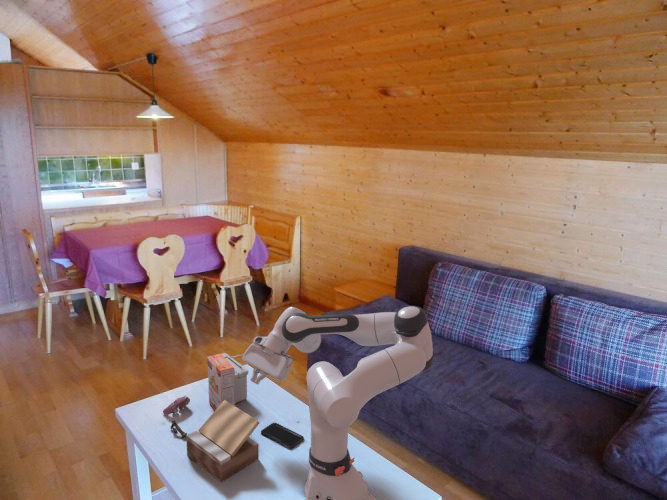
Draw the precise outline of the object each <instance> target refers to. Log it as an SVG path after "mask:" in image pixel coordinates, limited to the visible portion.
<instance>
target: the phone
mask: <svg viewBox="0 0 667 500" xmlns="http://www.w3.org/2000/svg"><path fill="white" fill-rule="evenodd" d="M260 435H262V436H264V437H266V438H267V439H269V440H271V441H273V442H275V443H277V444H279V445H281V446H283V447H284V448H286V449H288V450H293V449H294V448H296V447H297V446H299V445H300V444H301V443H302V442H304V440H305V436H304V435H302V434H299V433H298V432H295V431H293V430H291V429H289V428H287V427H286V426H283V425H281V424H279V423H277V422H272V423H270V424H269V425H268V426H266V427H265V428H263V429H261V431H260Z"/></svg>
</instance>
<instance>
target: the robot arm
mask: <svg viewBox="0 0 667 500" xmlns="http://www.w3.org/2000/svg"><path fill="white" fill-rule="evenodd" d="M428 319H429V318H428V315H427V314H426V312H425V310H424V309H423V308H422V307H420V306H417V305H406V306H403V307H401V308H400V309H398V310H397V311H389V312H388V311H384V312H382V311H381V312H374V313H363V314H360V313H359V314H345V313H344V314H324V315H322V314H321V315H310V314H307V313H306V312H305V311H304V310H303V309H300V308H298V307H295V306H289V307H287V308H286V309H284V311H283V312H282V313H281V315H280V316H279V317H278V319H277V321H276V322H275V324H274V326H273V329H272V331H270V332H269V333H268V335H267V336H255V337H254V338H253V342H252V343H251V344H250V345H249V346H248V347H247V348H246V350H244V351H245V352H244V353H243V354H244V355H243V354H242V362H244V363H246V364H247V365H249V366H251V367H253V369H252V376H251V377H250V382H252V383H254V384H255V385H259V384H260V383H261V382H262V380H264V379H266V378H267V376H270V377H272V378H273V379H275V380H277V381H280V382H283V381H284V380H285V379H286V377H287V375H288V374H289V371H290V368H291V366H292V364H293V361H294V358H293V356H292V355H291V354H289V353H288V351H289V349H290V347H291V346H294V347H295V348H296V349H297V350H298V351H299V352H301V353H304V354H311V353H314V352H316V351H317V350H318V349H319V348H320V346H321V343H322V335H333V334H334V335H341V336H344V337H346V338H347V339H350V340H351V341H353V342H354V343H355V344H357V345H360V346H361V347H362V346H363V347H379V346H385V345H391V346H389V347H386V348H384V349H381V350H378V351H376V352H374V353H372V354H370V355H368V356H365V357H363V358H361V359H360V360H358V362H357V366H356V367H355V369H353V370H352V371H351V372H350V373H349V374H347V375H345V376H343V374H342V372H341V371H340V369H339V368H337V367H336V366H334V365H333V364H332V363H330V362H328V361H325V360H323V361H317V362H315V363H314V364H312V366H311V365H310V367H309V368H308V370H307V372H306V385H307V396H308V397H307V398H308V400H307V401H308V410H309V419H310V447H309V452H308V463H309V469H308V474H307V478H306V482H305V485H304V489H303V491H304V496H305V499H304V500H377V499H376V497H375V496H374V495H373V494H372V493H371V492H369V486H368V483H367V481H366V480H365V479H364V477H363V476H364V475H363V472H361V471H359V470H357V468H356V467H355V465H353V463H354V462H355V457H353V458H351V454H350V451H349V448H348V445H349V444H348V443H349V426H351V425H352V424H353V423H355V422H356V420H357V418H358V416H359V414H360V411H361V409H362V408H363V407H364V406H365V405H366V404H367V403H368V402H369V401H370V400H371V399H373V398H374V397H376V396H377V395H379V394H381V393H384V392H385V391H387V390H390V389H393V388H394V387H396V386H398V385H400V384H402V383H405V382H407V381H408V380H410V379H412V378H414V377H415V376H417V375H418V374H420V373H421V372H425V371H427V370H429V369H430V368H432V366H433V365H434V360H435V351H434V348H433V347H434V346H433V339H432V331H431V328H430V324H429V322H428V321H429V320H428ZM258 374H259V375H258Z"/></svg>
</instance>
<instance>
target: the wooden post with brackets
mask: <svg viewBox="0 0 667 500" xmlns="http://www.w3.org/2000/svg"><path fill="white" fill-rule="evenodd" d="M170 429H171V430H172V432H174V434H175V433H176V434H178V433H179V434H180V435H181V439H183V438H186V435H188V432H184V431H183V430H182V428H181V427H180V425H179V424H178V423H177V422H176V419H171V426H170Z"/></svg>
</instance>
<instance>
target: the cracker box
mask: <svg viewBox="0 0 667 500" xmlns="http://www.w3.org/2000/svg"><path fill="white" fill-rule="evenodd" d="M206 357H207V375H208V377H207V378H208V379H207V381H208V382H207V383H208V400H209V401H208V403H209V404H210V407H212V409H213V410H214V411H215V410H216V409H217V408H218V407H219V406H220V404H221V403H222V402H223V401H224V400H226V401H227V402H229V403H230V404H232V405H234V406H235V407H236V403H235V373H234V367H233V366H232V365H231V364H230V363H229V362H228V361H227V360H226V359H225V357H224V356H223V355H222V353H221V352H220V353H217V354H212V355H208V356H206Z"/></svg>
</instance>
